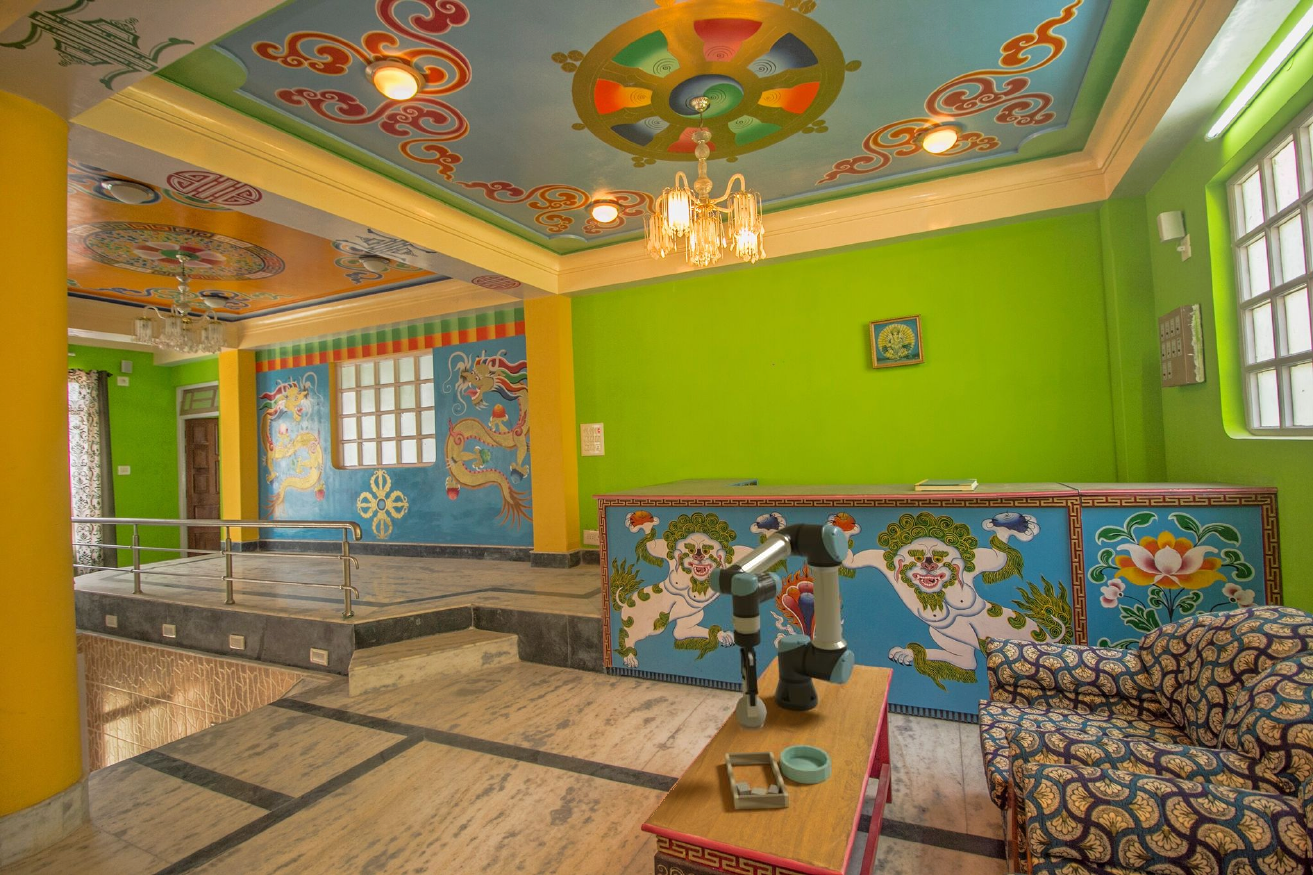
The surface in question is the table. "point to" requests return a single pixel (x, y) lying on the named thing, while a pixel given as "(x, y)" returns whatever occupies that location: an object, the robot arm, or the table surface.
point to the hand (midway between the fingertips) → (750, 709)
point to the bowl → (805, 764)
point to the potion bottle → (742, 712)
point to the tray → (762, 799)
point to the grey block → (743, 788)
